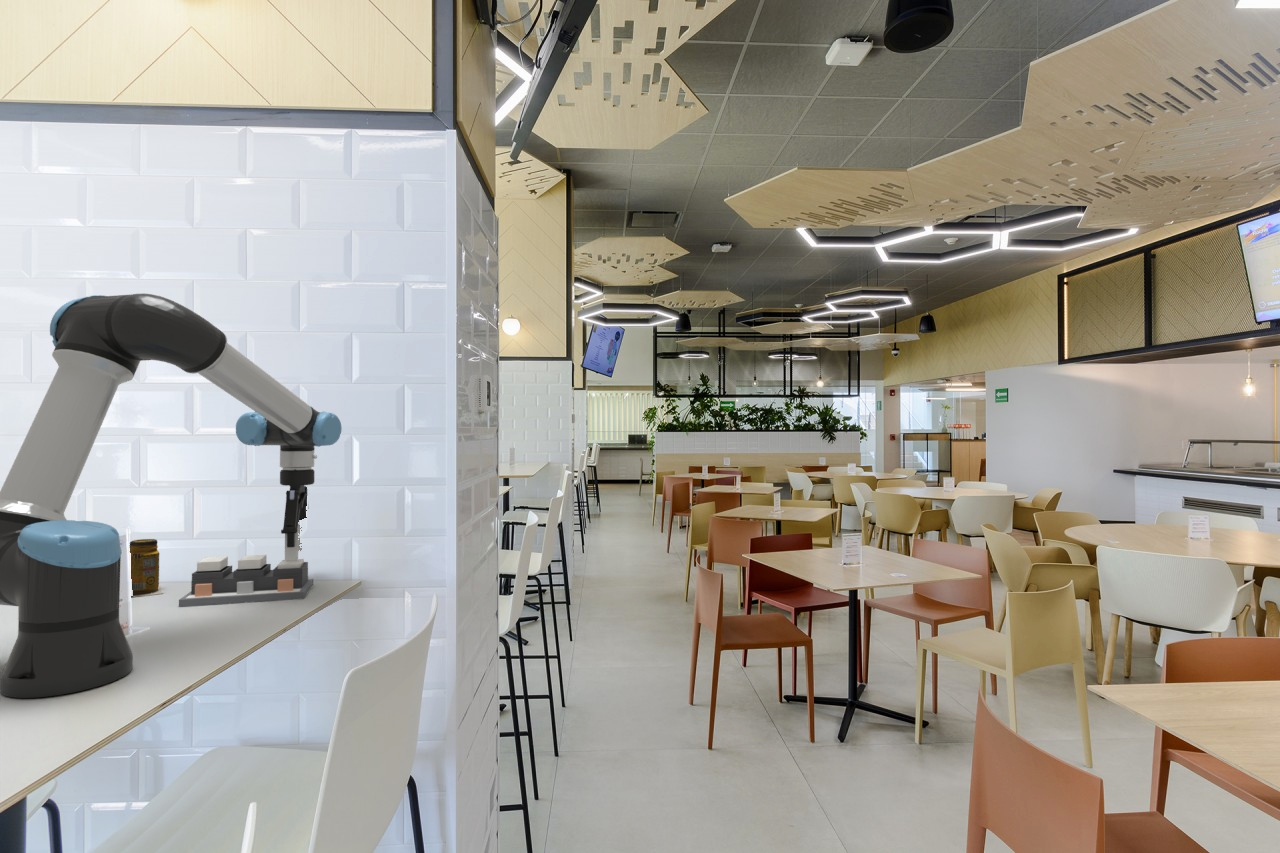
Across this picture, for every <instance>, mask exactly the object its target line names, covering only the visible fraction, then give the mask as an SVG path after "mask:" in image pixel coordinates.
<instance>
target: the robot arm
mask: <svg viewBox="0 0 1280 853" xmlns="http://www.w3.org/2000/svg"><path fill="white" fill-rule="evenodd" d="M49 324H50V325H49V335H50V336H51V337H52V344H53V346H54V349H53V351H52V353H51V356H52V358H53V359H54V361H55V363H56V364H57V367H58V368H57V369H56V372H55V375H54V376H53V378H52V380H51V382H50V385H49V387H48V388H47V391H46V394H45V395H44V397H43V400H42V402H41V404H40V406H39V408H38V410H37V412H36V414H35V417H34V419H33V421H32V423H31V426H30V427H29V429H28V431H27V434H26V435H25V438H24V440H23V442H22V444H21V447H20V449H19V451H18V453H17V455H16V457H15V459H14V461H13V464H12V465H11V468H10V469H9V471H8V474H7V475H6V478H5V481H4V483H3V485H2V487H1V489H0V606H8V607H9V606H10V607H18V613H17V614H18V618H17V620H18V623H17V624H18V629H17V630H18V631H17V638H16V640H15V642H14V645H13V647H12V648H11V649H12V650H11V652H10V654H9V657H8V659H7V661H6V664H5V667H4V669H3V671H2V674H1V677H0V693H1V694H2V695H3V696H5V697H9V698H17V699H18V698H19V699H29V698H30V699H32V698H33V699H34V698H46V697H53V696H61V695H67V694H71V693H77V692H80V691H81V692H82V691H85V690H89V689H93V688H94V689H95V688H97V687H100V686H103V685H107V684H109V683H112V682H114V681H117V680H119V679H121V678H123V677H126V676H127V675H128V674H130V673H131V672H132V671H133V669H134V666H133V665H134V664H133V662H134V661H133V660H134V657H133V656H134V655H133V651H132V649H131V646H130V645H129V642H128V640H127V637H126V634H125V632H124V630H123V627H122V625H121V623H120V622H121V621H120V596H121V595H120V594H121V593H120V592H121V591H120V588H121V587H120V586H121V557H122V556H121V555H122V548H121V540H120V533H119V532H118V530H117V529H116V528H115V527H114V526H112V525H109V524H107V523H104V522H99V521H92V520H91V521H90V520H72V519H71V520H70V519H69V520H68V519H67V517H66V516H65V511H66V509H67V506H69V505H68V504H69V502H70V500H71V497H72V495H73V492H74V490H75V488H76V486H77V484H78V481H79V479H80V477H81V474H82V472H83V470H84V467H85V464H86V462H87V460H88V457H89V456H90V452H91V451H92V448H93V446H94V444H95V442H96V439H97V436H98V434H99V432H100V430H101V427H102V425H103V423H104V420H105V419H106V416H107V413H108V411H109V409H110V406H111V404H112V401H113V399H114V397H115V395H116V392H117V390H118V387H119V386H120V385H122V384H124V383H127V382H130V381H132V380H133V379H134V377H135V375H136V372H137V370H138V368H139V365H140V363H141V361H158V362H164V363H167V364H169V365H173V366H175V367H178V368H179V369H181V370H182V371H183V372H185V373H187V374H199V376H202V377H203V378H205V379H206V380H208V381H209V382H210V383H212V384H213V385H215V386H216V387H218V388H220V389H221V390H222V391H223V392H225V393H227V394H228V395H230V396H232V397H233V398H235V400H238V401H239V402H241V403H242V404H244V405H245V406H247V407H248V408H249V409H251V410H253V412H244V413H243V414H241V416H239V417H238V419H237V421H236V424H235V435H236V437H237V439H238V441H240V443H241V444H244V445H247V446H255V447H260V446H279V467H280V468H281V470H280V471H279V484H280V485H281V486H289V490H286V492H285V494H286V497H285V499H286V500H285V507H284V519H283V527H282V529H281V530H280V534H282V535H283V534H284V560H285V561H298V559H299V552H302V551H301V550H302V548H300V546H299V545H300V544H302V543H300V538H298V536H299V535H298V533H299V534H300V529H301V528H302V527H301V528H300V525H299V524H298V522H299V520H302V519H304V518H307V517H306V511H307V510H306V506H307V496H308V489H307V487H308V486H310V485H314V484H315V470H314V467H315V459H317V458H318V455H317V454H315V449H316V448H315V447H323V446H326V447H327V446H331V445H332V446H333V445H334V444H335V443H337V442H338V441H339V440H340V437H341V434H342V431H343V430H342V423H341V422H342V421H341V420H340V418H339V417H338V416H337V415H336V414H335V413H333V412H327V411H321V412H320V411H317V410H316V409H315V408H314V407H313V406H311V405H309V404H308V403H306V401H304V400H303V399H301V398H300V397H298V396H297V395H296V394H295V393H293V392H292V391H291V390H290V389H289V388H287V387H286V386H284V384H281V383H280V382H279V381H278V380H277V379H276V378H274V377H272V376H271V375H270V374H269V373H267V371H265V370H263V369H262V368H261V367H260V366H258V365H257V364H255V363H254V362H253V361H251V360H250V359H249V358H247V356H245V355H244V354H243V353H241V352H240V351H239V350H237V349H236V348H235V347H233V346H232V345H231V344H229V342H228V338H227V335H226V334H225V332H224V331H222V330H220V329H219V328H217V326H215V325H214V324H213V323H211V322H210V321H209V320H208V319H205V318H204V317H202V316H201V315H199V314H198V313H196V312H194V311H193V310H191V309H189V308H188V307H187V306H184V305H182V304H180V303H178V302H176V301H174V300H171V299H169V298H166V297H164V296H160V295H156V294H151V293H131V294H121V295H119V294H118V295H101V294H100V295H99V294H98V295H88V296H85V297H80V298H76V299H72V300H70V301H67V302H65V303H64V304H62V305H61V306H60V307H59V308H58V309H57V310H56V311H55V313H54V314H53V316H52V317H51V320H50V323H49ZM306 486H307V487H306ZM301 531H302V530H301ZM298 539H299V540H298ZM301 547H302V546H301ZM299 550H300V551H299Z"/></svg>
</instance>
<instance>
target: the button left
mask: <svg viewBox="0 0 1280 853" xmlns="http://www.w3.org/2000/svg"><path fill="white" fill-rule="evenodd" d="M228 559H229V557H228V556H213V557H212V556H210V557H208V556H207V557H204V558H202V559H201V560H199V561H197V562H196V571H217V570H221V569H223V568H224V567H226V566H229V564H228V563H229V562H228Z"/></svg>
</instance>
